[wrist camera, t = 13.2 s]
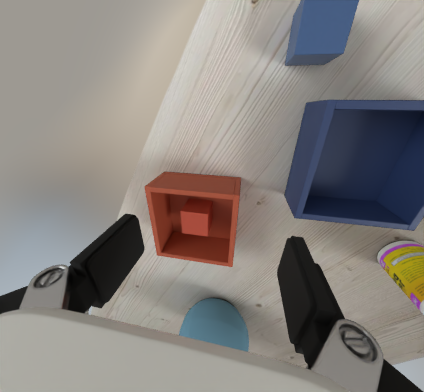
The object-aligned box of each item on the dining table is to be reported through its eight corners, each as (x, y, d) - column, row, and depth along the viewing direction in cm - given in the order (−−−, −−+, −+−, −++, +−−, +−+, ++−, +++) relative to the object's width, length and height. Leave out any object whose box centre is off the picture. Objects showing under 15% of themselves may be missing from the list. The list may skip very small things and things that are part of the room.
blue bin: (284, 195, 28) (294, 218, 22) (306, 102, 22) (328, 99, 16) (375, 203, 26) (414, 231, 20) (428, 103, 20) (506, 100, 14)
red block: (189, 218, 33) (182, 233, 29) (188, 198, 31) (180, 211, 27) (212, 221, 32) (207, 236, 28) (212, 200, 30) (207, 214, 26)
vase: (260, 320, 45) (274, 519, 23) (212, 330, 52) (188, 493, 30) (223, 282, 41) (198, 482, 19) (176, 298, 47) (117, 461, 25)
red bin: (171, 231, 36) (157, 255, 30) (164, 171, 30) (144, 186, 24) (234, 240, 34) (232, 267, 28) (241, 177, 28) (239, 195, 22)
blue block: (284, 65, 21) (293, 55, 17) (293, 15, 19) (306, -11, 15) (324, 64, 20) (343, 53, 16) (337, 12, 18) (363, -16, 14)
